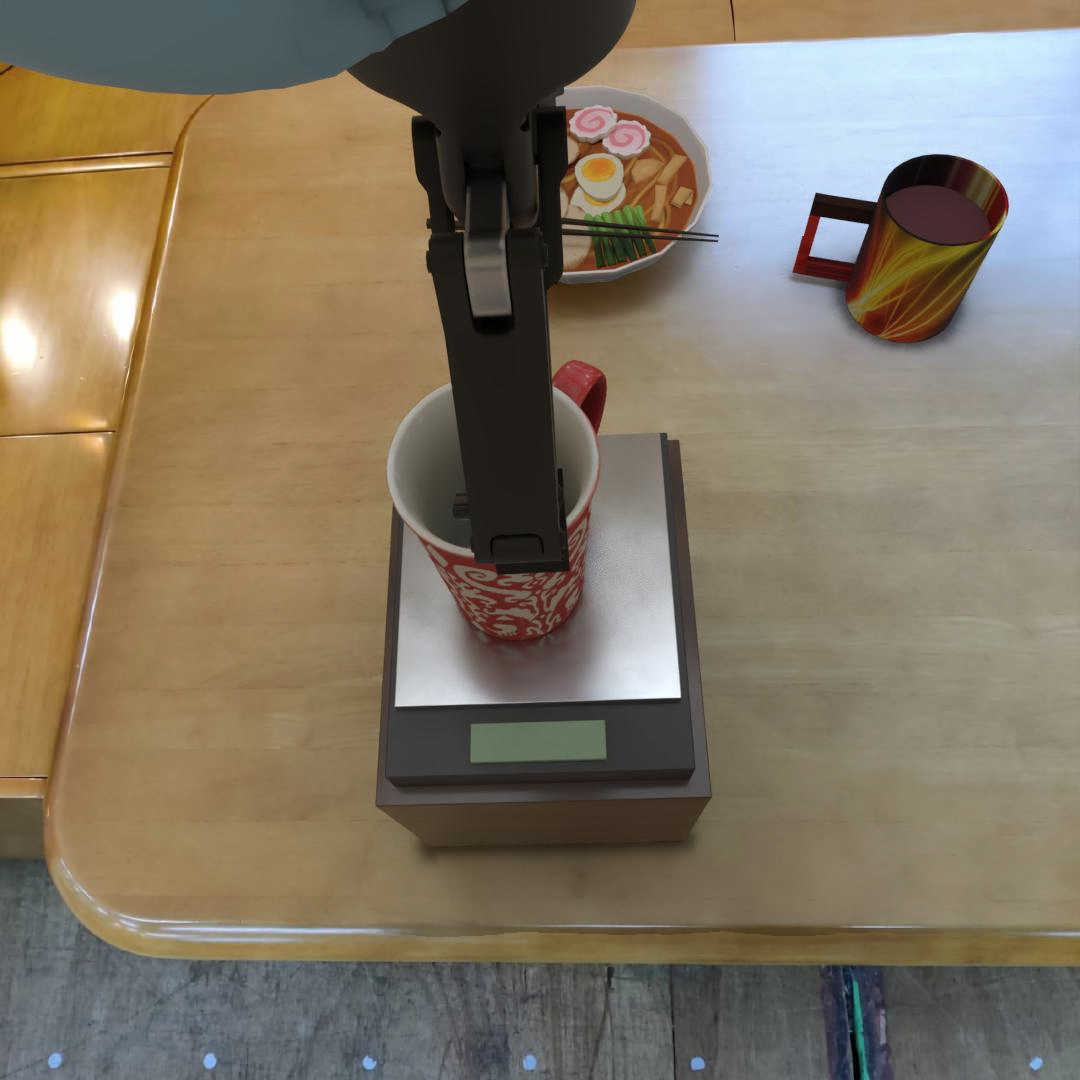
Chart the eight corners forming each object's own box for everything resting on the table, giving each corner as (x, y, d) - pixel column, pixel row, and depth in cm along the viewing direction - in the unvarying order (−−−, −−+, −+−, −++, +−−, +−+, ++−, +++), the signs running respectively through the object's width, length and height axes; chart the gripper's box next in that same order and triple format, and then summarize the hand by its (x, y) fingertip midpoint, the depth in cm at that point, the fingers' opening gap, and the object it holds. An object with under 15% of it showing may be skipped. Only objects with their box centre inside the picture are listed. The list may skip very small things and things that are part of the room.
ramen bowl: (727, 156, 92) (738, 85, 85) (703, 344, 83) (713, 282, 76) (481, 137, 95) (471, 67, 88) (432, 315, 86) (416, 253, 79)
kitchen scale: (691, 778, 50) (697, 766, 46) (394, 787, 50) (380, 775, 47) (664, 453, 58) (668, 424, 55) (410, 464, 59) (399, 436, 56)
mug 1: (536, 692, 49) (515, 598, 36) (403, 600, 51) (341, 484, 39) (667, 512, 52) (687, 373, 40) (537, 436, 55) (519, 284, 43)
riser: (684, 840, 65) (712, 797, 49) (430, 846, 66) (374, 806, 50) (662, 555, 75) (679, 439, 58) (439, 563, 75) (395, 451, 59)
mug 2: (787, 274, 86) (814, 173, 75) (933, 249, 86) (982, 144, 75) (817, 359, 82) (851, 265, 71) (971, 332, 82) (1028, 234, 71)
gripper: (318, -439, 24) (444, 188, 43) (187, 349, 13) (430, 716, 33) (608, -466, 24) (605, 178, 43) (708, 319, 13) (644, 708, 32)
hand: (529, 411), depth 38 cm, fingers open, 13 cm apart
